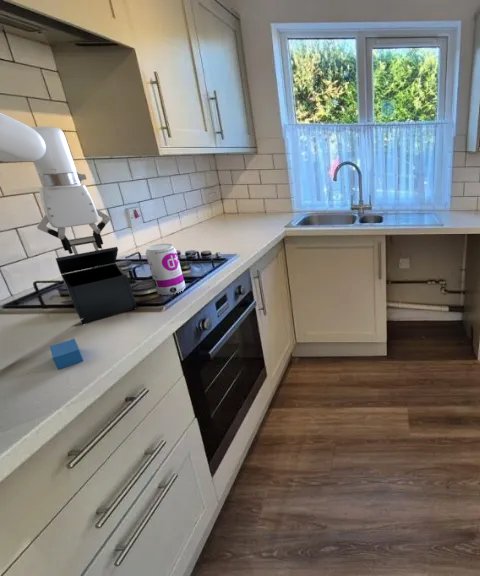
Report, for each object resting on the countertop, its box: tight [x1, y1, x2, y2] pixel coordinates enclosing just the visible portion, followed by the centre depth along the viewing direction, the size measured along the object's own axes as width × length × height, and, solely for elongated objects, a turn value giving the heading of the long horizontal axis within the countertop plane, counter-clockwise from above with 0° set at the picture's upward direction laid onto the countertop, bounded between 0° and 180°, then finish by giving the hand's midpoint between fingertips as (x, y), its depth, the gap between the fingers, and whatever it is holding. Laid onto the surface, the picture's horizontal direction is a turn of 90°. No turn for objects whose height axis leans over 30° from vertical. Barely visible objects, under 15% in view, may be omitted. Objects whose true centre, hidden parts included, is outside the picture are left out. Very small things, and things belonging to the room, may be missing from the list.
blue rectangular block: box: [49, 338, 84, 370], centre depth 82 cm, size 7×4×3 cm, turn 45°
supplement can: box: [145, 243, 187, 296], centre depth 114 cm, size 8×8×15 cm
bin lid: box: [55, 235, 119, 275], centre depth 100 cm, size 15×13×5 cm
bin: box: [60, 262, 139, 326], centre depth 104 cm, size 15×13×11 cm
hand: (85, 249), depth 97 cm, fingers closed on bin lid, 5 cm apart
